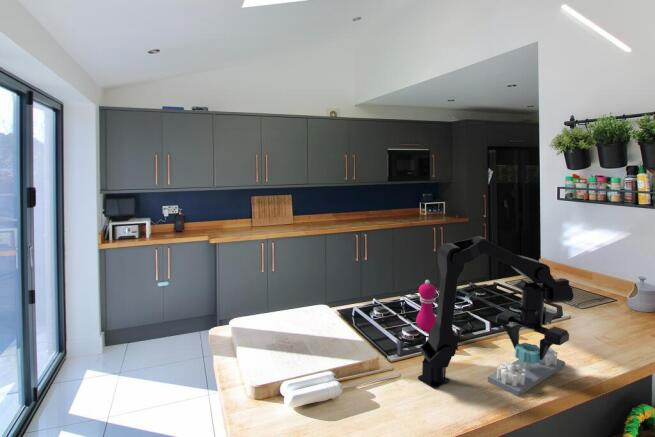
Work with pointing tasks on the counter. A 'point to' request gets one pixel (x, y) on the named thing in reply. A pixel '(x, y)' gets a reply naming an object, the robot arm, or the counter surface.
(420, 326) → the pepper mill
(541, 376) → the gear board
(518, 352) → the teal gear
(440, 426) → the counter surface
